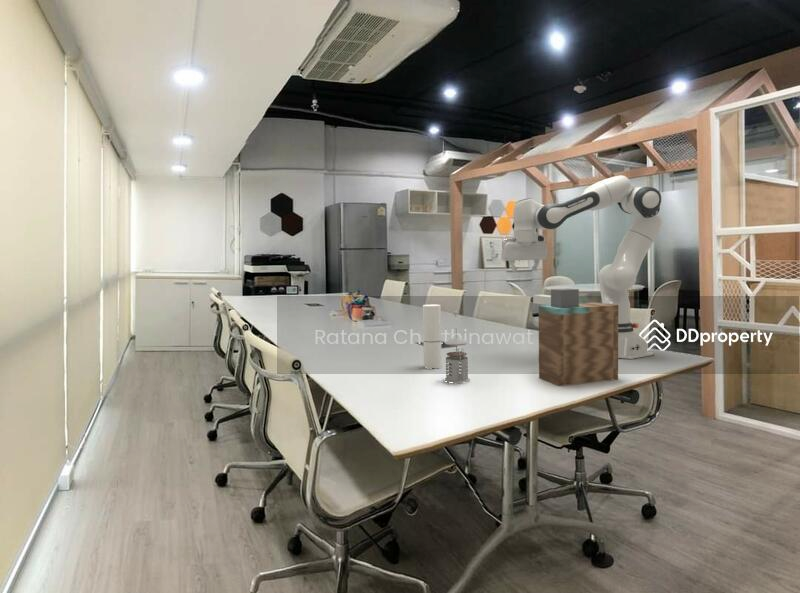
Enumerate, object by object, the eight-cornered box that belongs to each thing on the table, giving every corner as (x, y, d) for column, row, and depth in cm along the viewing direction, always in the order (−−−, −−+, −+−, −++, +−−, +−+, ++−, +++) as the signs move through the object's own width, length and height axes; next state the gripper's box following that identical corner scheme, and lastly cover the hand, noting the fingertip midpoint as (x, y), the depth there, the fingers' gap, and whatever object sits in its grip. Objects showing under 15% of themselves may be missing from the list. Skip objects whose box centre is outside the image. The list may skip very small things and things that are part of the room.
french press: (465, 376, 195) (464, 309, 193) (476, 383, 183) (475, 312, 181) (439, 378, 192) (438, 310, 190) (449, 385, 181) (448, 313, 179)
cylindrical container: (441, 365, 215) (440, 304, 213) (441, 369, 208) (440, 306, 206) (424, 365, 216) (423, 304, 214) (423, 369, 208) (422, 306, 207)
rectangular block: (546, 302, 199) (545, 286, 198) (578, 306, 180) (578, 289, 179) (529, 303, 197) (529, 287, 196) (561, 307, 178) (561, 290, 177)
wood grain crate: (595, 372, 196) (595, 302, 194) (618, 379, 184) (618, 305, 182) (539, 378, 188) (538, 305, 186) (558, 385, 177) (558, 308, 175)
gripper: (505, 238, 214) (506, 272, 215) (549, 237, 220) (549, 270, 221) (498, 238, 220) (498, 271, 221) (541, 238, 226) (541, 270, 227)
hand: (524, 271), depth 221 cm, fingers open, 8 cm apart
